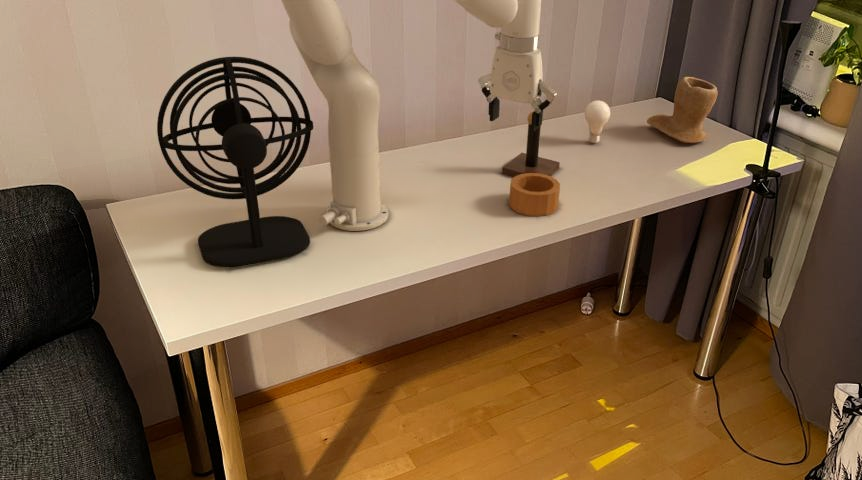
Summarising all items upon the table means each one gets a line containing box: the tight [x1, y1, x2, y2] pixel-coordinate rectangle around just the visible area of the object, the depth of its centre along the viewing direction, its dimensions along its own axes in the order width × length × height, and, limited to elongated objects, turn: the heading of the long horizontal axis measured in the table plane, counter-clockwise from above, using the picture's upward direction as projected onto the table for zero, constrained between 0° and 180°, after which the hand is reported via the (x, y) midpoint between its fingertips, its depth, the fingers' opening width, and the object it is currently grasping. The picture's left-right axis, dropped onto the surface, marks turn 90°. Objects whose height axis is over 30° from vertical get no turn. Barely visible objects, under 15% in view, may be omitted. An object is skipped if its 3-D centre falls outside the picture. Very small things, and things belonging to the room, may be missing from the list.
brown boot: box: [646, 76, 718, 144], centre depth 201 cm, size 15×12×15 cm
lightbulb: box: [584, 99, 612, 144], centre depth 195 cm, size 6×6×11 cm
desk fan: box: [156, 56, 314, 269], centre depth 141 cm, size 27×18×35 cm, turn 115°
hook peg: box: [525, 110, 544, 167], centre depth 178 cm, size 3×3×13 cm
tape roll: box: [508, 173, 561, 217], centre depth 167 cm, size 10×10×5 cm
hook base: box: [501, 152, 560, 178], centre depth 182 cm, size 10×10×2 cm
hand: (514, 123), depth 164 cm, fingers open, 9 cm apart
